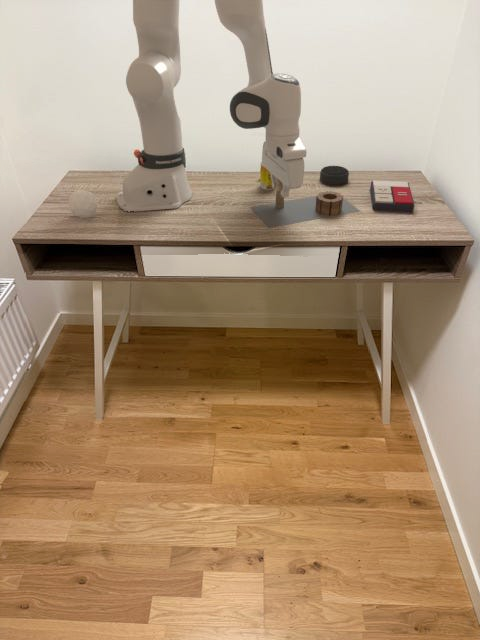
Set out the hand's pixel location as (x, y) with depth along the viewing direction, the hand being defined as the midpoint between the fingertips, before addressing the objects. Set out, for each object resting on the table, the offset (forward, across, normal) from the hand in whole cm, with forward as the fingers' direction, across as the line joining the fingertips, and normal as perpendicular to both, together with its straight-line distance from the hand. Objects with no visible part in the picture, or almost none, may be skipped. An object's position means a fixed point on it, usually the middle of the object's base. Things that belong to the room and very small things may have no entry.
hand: (280, 192), depth 136 cm
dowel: (+4, 0, 0) cm, 4 cm away
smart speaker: (+5, -12, +24) cm, 27 cm away
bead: (+4, +7, +12) cm, 15 cm away
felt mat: (+5, +4, +6) cm, 9 cm away
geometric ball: (+5, -15, -53) cm, 55 cm away
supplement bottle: (+5, -15, +3) cm, 16 cm away
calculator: (+5, +8, +32) cm, 33 cm away
